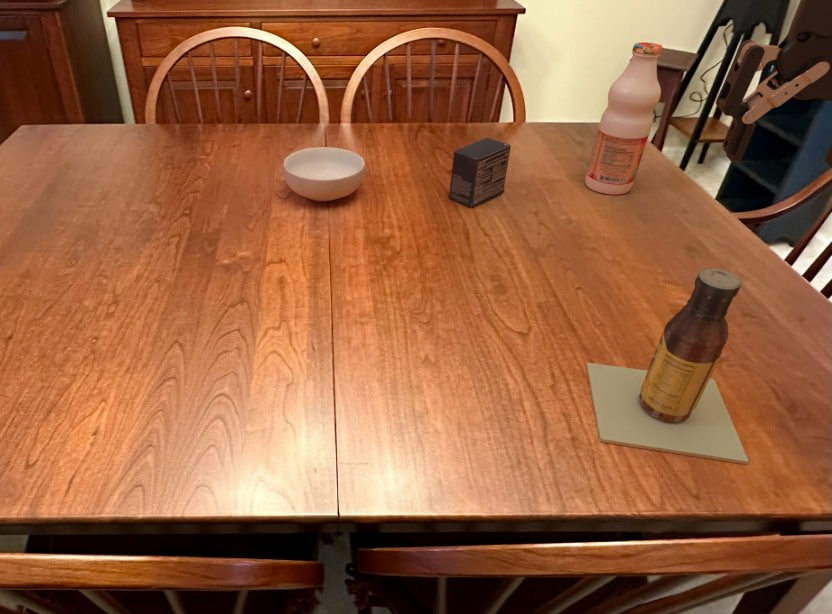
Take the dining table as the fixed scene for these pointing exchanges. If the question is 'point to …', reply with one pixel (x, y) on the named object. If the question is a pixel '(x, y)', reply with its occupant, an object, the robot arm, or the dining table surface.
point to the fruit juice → (625, 123)
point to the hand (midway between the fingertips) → (782, 161)
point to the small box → (479, 172)
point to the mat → (637, 428)
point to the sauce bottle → (689, 348)
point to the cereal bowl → (324, 172)
